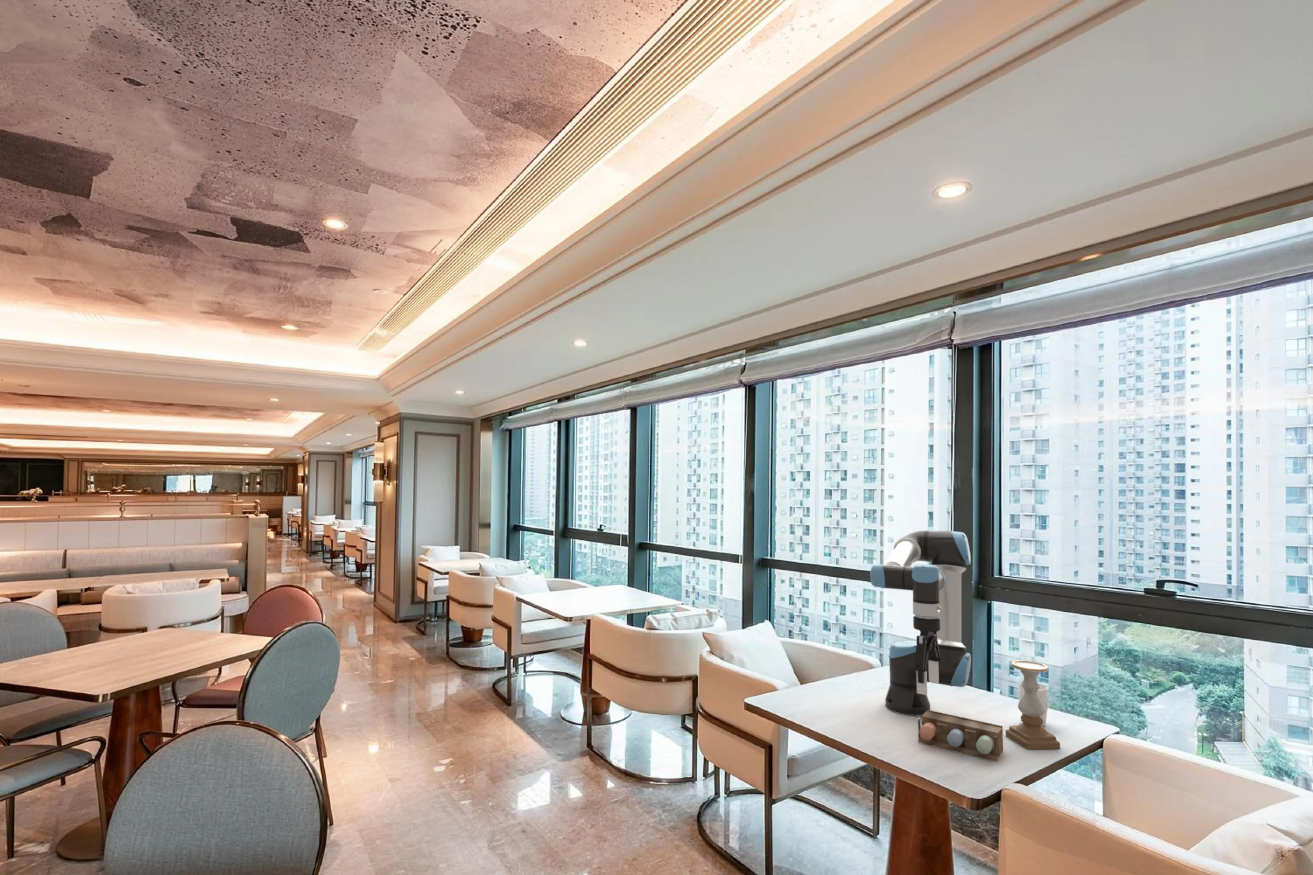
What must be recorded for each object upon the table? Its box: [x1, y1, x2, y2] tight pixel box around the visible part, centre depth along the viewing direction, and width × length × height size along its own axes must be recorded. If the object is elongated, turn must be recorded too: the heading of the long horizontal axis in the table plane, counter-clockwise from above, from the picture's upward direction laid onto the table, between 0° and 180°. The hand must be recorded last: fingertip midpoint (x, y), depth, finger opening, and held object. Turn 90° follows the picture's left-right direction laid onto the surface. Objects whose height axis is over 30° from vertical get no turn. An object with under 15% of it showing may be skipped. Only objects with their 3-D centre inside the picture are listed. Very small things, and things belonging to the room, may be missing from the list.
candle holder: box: [1005, 659, 1061, 751], centre depth 200 cm, size 11×11×24 cm
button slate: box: [947, 729, 964, 747], centre depth 192 cm, size 4×4×4 cm
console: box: [917, 709, 1004, 763], centre depth 196 cm, size 22×10×7 cm, turn 52°
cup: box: [1017, 682, 1050, 727], centre depth 216 cm, size 9×9×12 cm
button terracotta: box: [919, 723, 937, 740], centre depth 197 cm, size 4×4×4 cm
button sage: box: [976, 735, 994, 754], centre depth 187 cm, size 4×4×4 cm
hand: (928, 688), depth 190 cm, fingers open, 13 cm apart
